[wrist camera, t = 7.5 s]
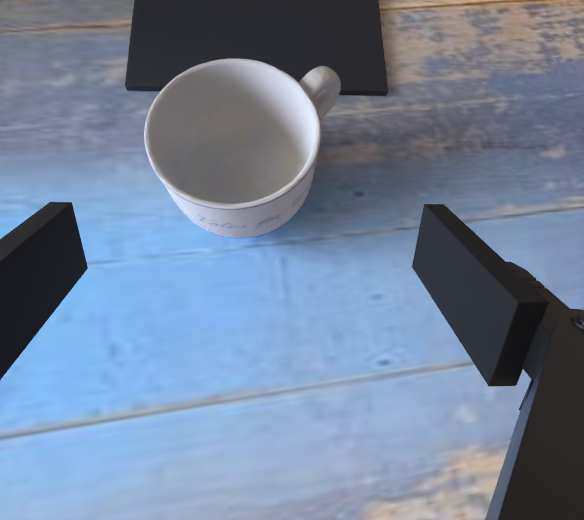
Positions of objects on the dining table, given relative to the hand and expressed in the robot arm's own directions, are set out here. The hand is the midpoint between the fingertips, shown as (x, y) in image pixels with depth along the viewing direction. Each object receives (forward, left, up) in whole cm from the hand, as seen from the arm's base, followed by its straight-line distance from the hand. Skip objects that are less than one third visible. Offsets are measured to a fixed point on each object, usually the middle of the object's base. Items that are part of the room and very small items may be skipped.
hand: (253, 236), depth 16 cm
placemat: (0, +28, -14) cm, 32 cm away
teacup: (0, +10, -15) cm, 18 cm away
